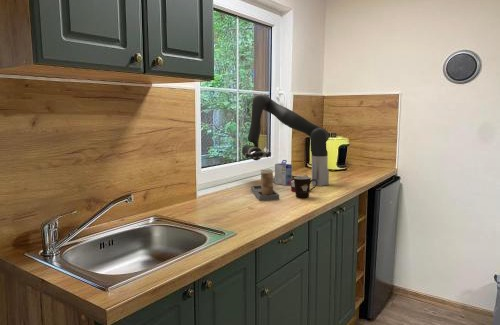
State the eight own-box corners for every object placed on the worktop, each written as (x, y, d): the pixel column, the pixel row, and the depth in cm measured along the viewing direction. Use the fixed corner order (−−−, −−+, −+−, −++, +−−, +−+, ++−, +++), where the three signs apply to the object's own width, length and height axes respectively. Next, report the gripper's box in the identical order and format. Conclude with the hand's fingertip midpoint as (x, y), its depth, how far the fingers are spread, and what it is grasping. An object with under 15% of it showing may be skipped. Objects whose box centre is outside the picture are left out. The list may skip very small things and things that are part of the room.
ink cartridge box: (292, 184, 222) (292, 160, 220) (285, 185, 219) (285, 161, 217) (280, 182, 230) (280, 159, 228) (274, 183, 226) (274, 160, 225)
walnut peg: (271, 196, 190) (270, 169, 189) (273, 198, 185) (272, 170, 184) (261, 196, 190) (260, 169, 188) (263, 199, 185) (262, 171, 183)
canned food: (308, 200, 201) (309, 186, 195) (289, 198, 202) (290, 183, 196) (309, 187, 210) (311, 173, 204) (291, 185, 211) (292, 171, 205)
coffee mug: (292, 198, 185) (292, 179, 183) (294, 195, 193) (294, 176, 192) (316, 199, 182) (316, 179, 181) (317, 195, 190) (317, 176, 189)
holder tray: (268, 189, 209) (268, 185, 209) (279, 199, 183) (279, 194, 183) (251, 190, 207) (250, 186, 207) (259, 200, 182) (259, 195, 182)
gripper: (242, 147, 218) (247, 149, 202) (266, 146, 220) (272, 148, 204) (243, 160, 219) (247, 163, 203) (267, 158, 221) (273, 161, 205)
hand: (260, 155), depth 203 cm, fingers open, 8 cm apart
